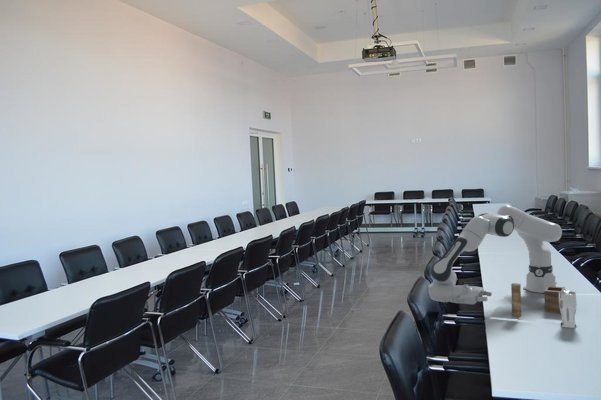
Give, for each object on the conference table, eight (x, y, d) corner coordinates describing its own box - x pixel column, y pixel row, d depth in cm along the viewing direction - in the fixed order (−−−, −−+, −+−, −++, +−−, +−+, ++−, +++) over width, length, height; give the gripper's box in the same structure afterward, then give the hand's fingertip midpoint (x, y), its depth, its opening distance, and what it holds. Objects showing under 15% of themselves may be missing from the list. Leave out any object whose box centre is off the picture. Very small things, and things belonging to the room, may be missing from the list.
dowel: (512, 315, 235) (511, 282, 234) (521, 316, 233) (521, 283, 232) (511, 318, 232) (510, 284, 231) (520, 319, 230) (519, 285, 229)
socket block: (547, 305, 243) (546, 286, 242) (565, 307, 239) (565, 287, 238) (545, 311, 235) (544, 291, 234) (563, 313, 230) (563, 292, 230)
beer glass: (575, 323, 219) (573, 290, 218) (579, 328, 212) (578, 294, 211) (557, 323, 221) (556, 290, 220) (561, 328, 214) (560, 294, 213)
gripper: (454, 293, 237) (483, 295, 230) (465, 283, 254) (493, 285, 247) (454, 306, 238) (484, 308, 230) (466, 295, 255) (494, 297, 247)
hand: (489, 296), depth 239 cm, fingers open, 8 cm apart
